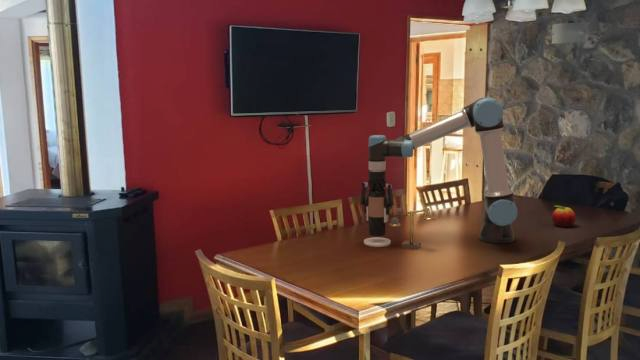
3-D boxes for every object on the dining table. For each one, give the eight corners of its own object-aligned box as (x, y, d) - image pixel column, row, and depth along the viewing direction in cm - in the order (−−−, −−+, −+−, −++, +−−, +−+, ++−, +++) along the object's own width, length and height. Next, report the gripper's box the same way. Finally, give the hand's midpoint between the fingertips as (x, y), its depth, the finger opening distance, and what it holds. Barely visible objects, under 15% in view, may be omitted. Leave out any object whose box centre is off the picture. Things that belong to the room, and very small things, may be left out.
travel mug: (384, 236, 250) (385, 192, 247) (367, 236, 251) (367, 191, 248) (386, 232, 257) (386, 189, 254) (369, 232, 259) (369, 188, 255)
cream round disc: (394, 241, 257) (394, 238, 257) (384, 248, 247) (384, 245, 247) (369, 238, 263) (369, 236, 263) (359, 245, 252) (359, 242, 252)
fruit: (568, 229, 273) (569, 209, 271) (547, 226, 281) (548, 206, 280) (579, 226, 280) (580, 206, 278) (557, 222, 288) (558, 203, 286)
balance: (436, 248, 245) (436, 207, 243) (432, 251, 240) (432, 210, 237) (391, 243, 255) (391, 203, 252) (386, 246, 249) (387, 206, 247)
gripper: (402, 170, 248) (401, 221, 252) (359, 168, 258) (359, 217, 261) (396, 172, 242) (395, 225, 245) (352, 170, 251) (352, 220, 255)
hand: (377, 221), depth 253 cm, fingers closed on travel mug, 8 cm apart
